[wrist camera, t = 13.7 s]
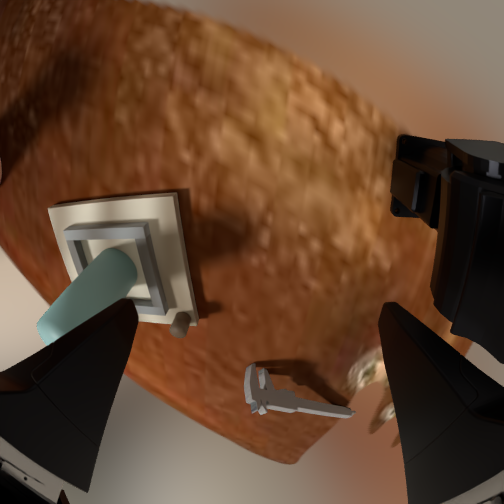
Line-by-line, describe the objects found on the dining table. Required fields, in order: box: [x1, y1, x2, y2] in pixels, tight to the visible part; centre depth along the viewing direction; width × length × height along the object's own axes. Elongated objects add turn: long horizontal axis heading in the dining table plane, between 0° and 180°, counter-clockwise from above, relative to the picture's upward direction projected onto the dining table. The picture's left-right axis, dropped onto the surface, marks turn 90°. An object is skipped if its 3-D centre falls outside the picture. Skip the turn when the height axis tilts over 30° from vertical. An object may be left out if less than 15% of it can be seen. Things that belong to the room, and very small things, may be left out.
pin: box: [37, 248, 137, 345], centre depth 20 cm, size 4×4×10 cm
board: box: [48, 192, 199, 338], centre depth 23 cm, size 14×13×3 cm
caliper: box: [244, 363, 356, 418], centre depth 30 cm, size 20×1×6 cm, turn 51°
